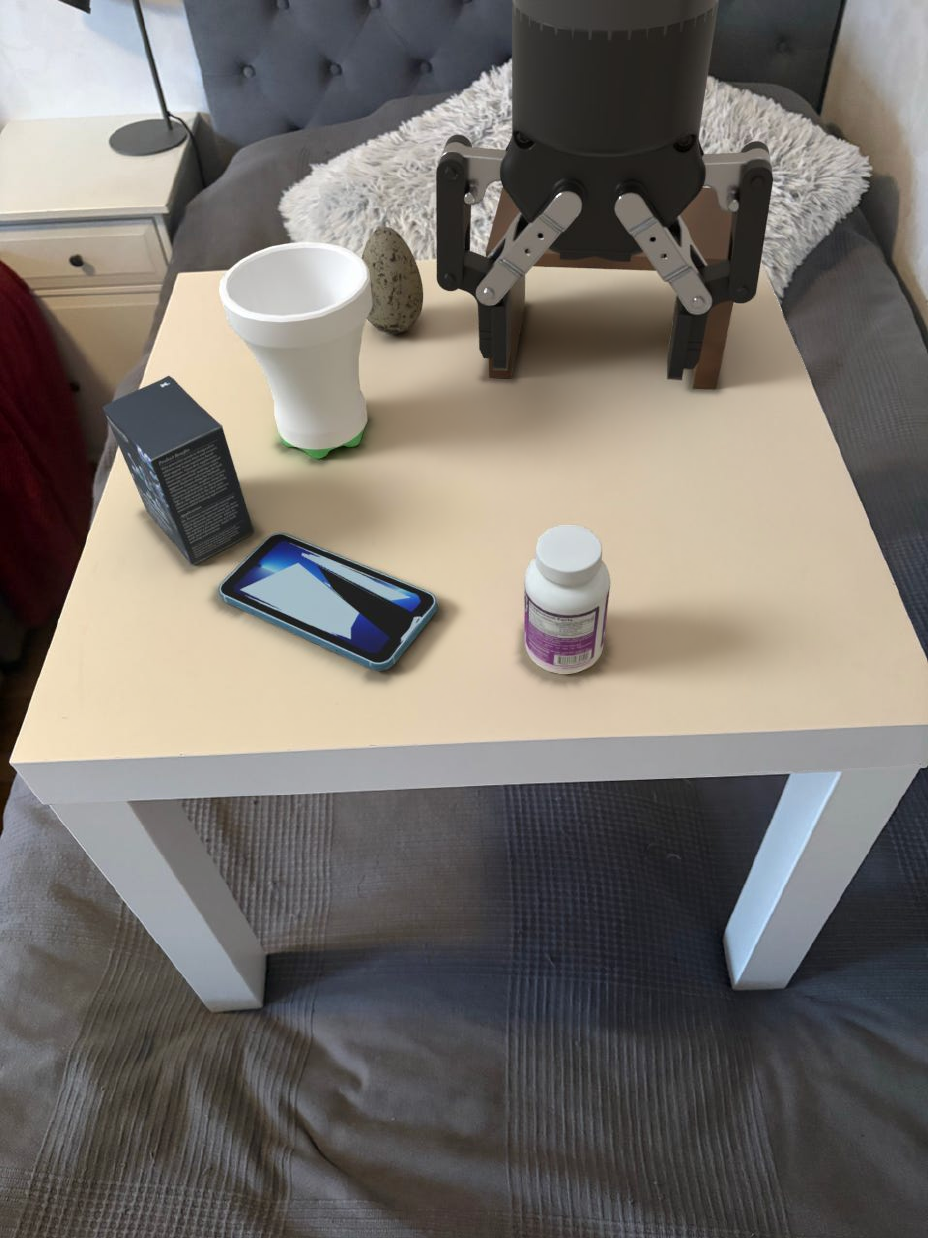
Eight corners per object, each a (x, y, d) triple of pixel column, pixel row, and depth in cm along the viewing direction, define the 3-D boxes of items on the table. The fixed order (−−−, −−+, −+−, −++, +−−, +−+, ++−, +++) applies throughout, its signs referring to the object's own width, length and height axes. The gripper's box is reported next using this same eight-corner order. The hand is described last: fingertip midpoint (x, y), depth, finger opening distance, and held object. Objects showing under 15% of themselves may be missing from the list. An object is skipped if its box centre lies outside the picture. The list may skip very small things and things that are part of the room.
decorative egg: (408, 352, 86) (397, 250, 78) (353, 339, 87) (337, 238, 80) (436, 319, 89) (429, 218, 81) (383, 307, 91) (371, 207, 83)
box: (145, 514, 73) (99, 404, 65) (209, 482, 75) (172, 372, 67) (191, 568, 69) (148, 459, 60) (257, 534, 71) (223, 423, 63)
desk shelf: (712, 313, 88) (735, 187, 78) (716, 389, 80) (742, 259, 71) (504, 305, 90) (503, 182, 81) (488, 377, 82) (485, 250, 73)
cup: (335, 492, 73) (304, 336, 63) (232, 447, 78) (186, 294, 67) (415, 416, 79) (399, 262, 68) (315, 379, 83) (285, 227, 73)
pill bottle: (546, 605, 65) (550, 504, 57) (616, 633, 63) (629, 532, 55) (509, 658, 62) (508, 559, 54) (580, 689, 60) (589, 591, 53)
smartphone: (275, 528, 70) (442, 596, 64) (278, 537, 70) (443, 605, 65) (211, 591, 66) (383, 670, 60) (215, 600, 67) (385, 678, 61)
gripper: (404, 19, 32) (434, 404, 44) (829, 21, 30) (737, 421, 42) (439, -46, 37) (457, 318, 49) (808, -48, 35) (730, 330, 47)
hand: (587, 365), depth 46 cm, fingers open, 8 cm apart
